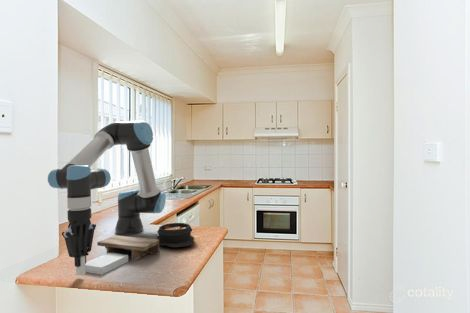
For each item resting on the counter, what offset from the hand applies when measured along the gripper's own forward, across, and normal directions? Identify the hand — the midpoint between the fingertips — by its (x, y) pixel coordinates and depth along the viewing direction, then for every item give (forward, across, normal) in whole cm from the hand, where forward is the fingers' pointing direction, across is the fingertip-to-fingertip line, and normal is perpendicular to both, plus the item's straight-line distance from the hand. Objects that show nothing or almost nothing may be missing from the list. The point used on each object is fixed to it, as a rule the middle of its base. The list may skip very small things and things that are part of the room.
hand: (80, 274), depth 105 cm
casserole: (+2, -46, +11) cm, 47 cm away
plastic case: (+2, -12, 0) cm, 12 cm away
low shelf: (+1, -26, 0) cm, 26 cm away
